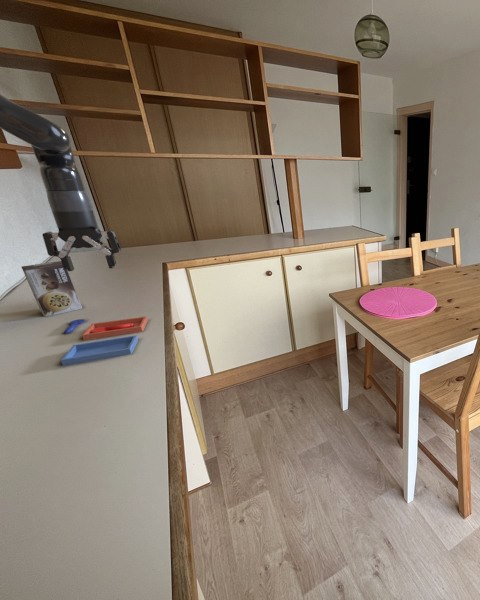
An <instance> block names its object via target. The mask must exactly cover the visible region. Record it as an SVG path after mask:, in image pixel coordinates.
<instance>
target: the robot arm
mask: <svg viewBox="0 0 480 600" xmlns="http://www.w3.org/2000/svg"><path fill="white" fill-rule="evenodd" d="M0 129H1V130H2V131H5V132H7V133H8V134H10V135H12V136H14V137H16V138H18V139H20V140H21V141H23V142H25V143H27V144H29V145H30V146H31V148H32V151H33V154H34V156H35V158H36V161H37V163H38V166H39V173H40V177H41V180H42V183H43V185H44V189H45V191H46V197H47V202H48V204H49V208H50V211H51V213H52V215H53V218H54V221H55V224H56V228H57V229H58V232H52V231H46V232H43V233H42V238H43V243H44V246H45V249H46V252H47V255H48V256H49V257H57V258H58V259H59V260H60V261H61V262H62V265H63V267H64V269H67V270H68V272H73V271H74V270H75V267H74V263H73V261H72V258H71V256H70V253H71V251H72V250H73V249H83V248H86V249H92V248H95V249H96V250H98V251H100V252H102V253H103V254H105V259H106V262H107V265H108V266H107V267H108V269H114V268H115V266H117V260H116V257H115V254H118V253H119V252H121V251H122V247H121V245H120V242H119V238H118V237H117V234H116V231H115V230H114V229H109V230H100V228H99V227H98V222H97V219H96V215H95V213H94V210H93V205H92V203H91V200H90V197H89V196H88V194H87V191H86V188H85V185H84V181H83V179H82V176H81V173H80V171H79V169H78V168H77V166H76V161H75V157H74V154H73V149H72V146H71V139H70V136H69V134H68V133H67V131H65V129H64V128H63V127H61V126H60V125H58V124H57V123H55V122H53V121H51V120H49V119H48V118H45V117H44V116H42V115H40V114H38V113H36V112H34V111H33V110H29V108H26V107H24V106H22V105H20V104H18V103H16V102H14V101H12V100H11V99H9V98H7V97H6V96H4V95H3V94H1V93H0ZM102 237H104V238H105V239H107V240H108V241H109V244H110V246H111V247H110V246H108V245H107V244H106V243H105V242H103V241H102V240H101V239H102ZM58 238H59V239H60V240H62V241H63V242H65V243H64V244H63V246H62V248H61V249H60V250H59V249H58V246H57V240H58Z"/></svg>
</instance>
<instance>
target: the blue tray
mask: <svg viewBox="0 0 480 600" xmlns="http://www.w3.org/2000/svg"><path fill="white" fill-rule="evenodd" d="M138 342H139V337H138V335H136V334H135V335H129V336H122V337H116V338H110V339H103V340H96V341H90V342H83V343H78V344H77V343H76V344H72V346H71V347H70V349H68V351H67V352H66V353H65V354H64V355H63V357H61V359H60V363H61V365H62V366H65V367H66V366H69V365H77V364H82V363H87V362H93V361H99V360H104V359H110V358H116V357H121V356H127V355H132V353H133V352H134V349H135V348H136V346H137V344H138Z"/></svg>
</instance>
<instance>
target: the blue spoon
mask: <svg viewBox="0 0 480 600" xmlns="http://www.w3.org/2000/svg"><path fill="white" fill-rule="evenodd" d="M68 323H69V326H68V327H67V328H66V329H65V330H64V331H63V334H65V335H69V334H71V333H72V332H73V331H74V330H75V329H76V328H77V327H78V326H79V325H81V324H84V323H86V320H85V319H82V318H81V319H80V318H79V319H75V320H72V321H70V322H68Z"/></svg>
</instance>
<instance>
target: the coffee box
mask: <svg viewBox="0 0 480 600" xmlns="http://www.w3.org/2000/svg"><path fill="white" fill-rule="evenodd" d="M21 270H22V271H23V274H24V276H25V278H26V280H27V281H26V282H27V283H28V286H29V288H30V291H31V292H32V294H33V297H34V299H35V301H36V304H37V306H38V308H39V311H40V313H41V314H42V316H43V317H50V316H54V315H59V314H63V313H69V312H72V311H73V312H74V311H76V310H77V311H78V310H81V309H83V306H82V304H81V301H80V299H79V296H78V293H77V291H76V289H75V285H74V283H73V281H72V278H71V276H70V272H69V271H68V270H67V269H64V267H63V265H62V262H61V260H59V261H51V262H44V263H37V264H29V265H22V266H21Z"/></svg>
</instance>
